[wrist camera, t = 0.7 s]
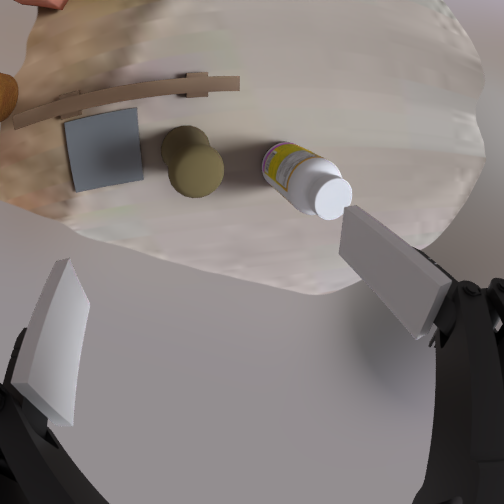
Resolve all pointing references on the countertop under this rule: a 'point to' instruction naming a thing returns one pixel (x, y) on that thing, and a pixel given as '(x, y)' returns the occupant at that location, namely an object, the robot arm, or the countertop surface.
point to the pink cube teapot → (45, 3)
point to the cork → (192, 162)
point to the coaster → (104, 149)
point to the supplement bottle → (306, 180)
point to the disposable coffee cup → (7, 95)
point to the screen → (127, 96)
